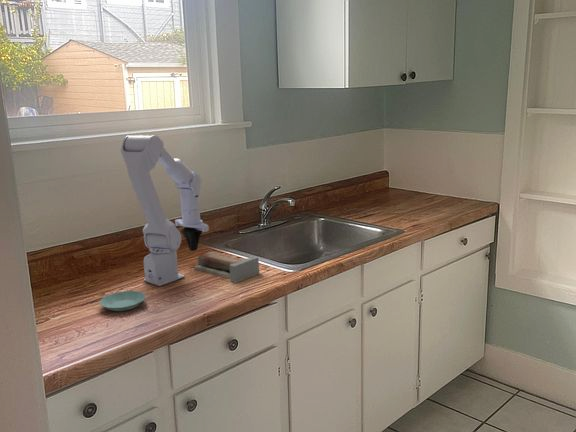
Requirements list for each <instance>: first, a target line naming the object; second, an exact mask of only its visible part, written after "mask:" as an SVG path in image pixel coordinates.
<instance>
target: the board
mask: <svg viewBox="0 0 576 432" xmlns="http://www.w3.org/2000/svg"><path fill="white" fill-rule="evenodd" d="M229 267H230V279H229V280H230V282H232V283H238V282H240V281H243V280H245V279H248V278H250V277H253V276H255V275H258V274H260V263H259V256H251V257H247V258H245V259H244V260H242V261H239V262H236V263H234V264H231V265H229Z"/></svg>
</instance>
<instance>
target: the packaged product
mask: <svg viewBox="0 0 576 432" xmlns="http://www.w3.org/2000/svg"><path fill="white" fill-rule="evenodd" d="M197 260H198V261H197V264H195V265H194V266H193V267H194V268H193V269H194V270H196V271H200V272H203V273H207V274H211V275H213V276H217V277H220V278H224V279H228V280H230V267H229V265H231V264H234V263H236V262H239V261H242V260H245V259H243V258H240V257H236V256H231V255H228V254H224V253H221V252H216V251H211V250H210V251H207V252H205V253H201V254H199V255H198V256H197Z"/></svg>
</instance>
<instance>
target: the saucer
mask: <svg viewBox="0 0 576 432" xmlns="http://www.w3.org/2000/svg"><path fill="white" fill-rule="evenodd" d="M146 297H147V296H146V294H145V293H144V292H141V291H140V290H139V291H138V290H125V291H117V292H114V293H111V294H108V295H106V296H104V297H102V299H101V300H100V301H99V305H100V306H102V307H103V308H104V309H107V310H108V311H109V310H110V311H112V312H126V310H127V311H130V310H133V309H135V308H136V307H138V306H140V305H141V303H142V302H144V300H145V299H146Z"/></svg>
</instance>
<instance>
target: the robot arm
mask: <svg viewBox="0 0 576 432" xmlns="http://www.w3.org/2000/svg"><path fill="white" fill-rule="evenodd" d="M164 146H165V145H164V141H163V139H161V138H160V136H158V135H157V134H156V135H132V134H128V135H126V136H124V138H123V140H122V144H121V147H120V153H121V155H122V158H123V161H124V163H125V165H126V170H127V174H128V178H129V181H130V183H131V185H132V188H133V189H134V193H135V195H136V198H137V200H138V203H139V205H140V208H141V210H142V213H143V216H144V218H145V221H146V224H145V225H144V227H142V228H143V229H142V234H143V242H144V245H145V246H146V248H148V251H149V252H150V253H148V254H146V255H145V256H144V258H143V270H144V279H143V281H144V282H148V283H150V284H153V285H156V286H158V287H160V286H164V285H166V284H169V283H172V282H175V281H178V280H180V279H181V280H182V279H184V278H185V277H186V276H185V275H184V274H182V273H179V267H178V256H177V250H179V248H180V247H181V244H182V235H183V237H184V239H185V240H186V243H187V246H188V249H189V251H191V252H194V251H198V247H199V241H200V238H201V236H202V234H203V233H206V232H209V231H210V227H209V224H207V223H204V220H202V219H201V213H200V212H201V211H200V201H199V200H200V198H199V197H200V196H199V195H200V194H201V185H202V179H201V175H200V174H198V172H196V171H192V170H191V169H190V167H188V166H187V164H185V163H184V162H183V160H182V159H181V158H174V157H173V156H172V155H171V153H170V152H169V151H167V149H166V148H165V147H164ZM157 162H158V163H159V164H160V165H162V167H164V171H165V173H166V174H167V176H169V177H170V178H171V179H172V180H173V182H174V184H175V187H176V189H178V190H179V196H180V197H179V198H180V199H179V200H180V208H181V218H178V219H175V220H174V221H175V222H173V221H171V220H169V219H168V218H167V217H166V215H165V212H164V210H163V206H162V203H161V201H160V199H159V195H158V193H157V190H156V187H155V185H154V182H153V179H152V177H151V174H150V171H152V170H154V169H155V167H156V165H157ZM179 226H180V227H183V228H182V229H180V231H181V232H180V231H179V229H177V227H179Z"/></svg>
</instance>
